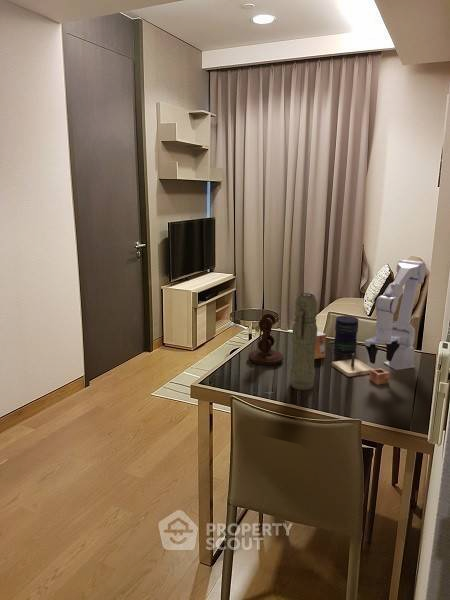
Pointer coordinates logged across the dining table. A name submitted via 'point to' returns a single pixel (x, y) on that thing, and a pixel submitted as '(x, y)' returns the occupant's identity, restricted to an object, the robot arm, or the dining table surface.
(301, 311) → the grey-green tall column
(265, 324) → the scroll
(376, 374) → the bead
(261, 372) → the dining table surface
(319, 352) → the small box
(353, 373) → the lacing board
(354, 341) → the storage jar
